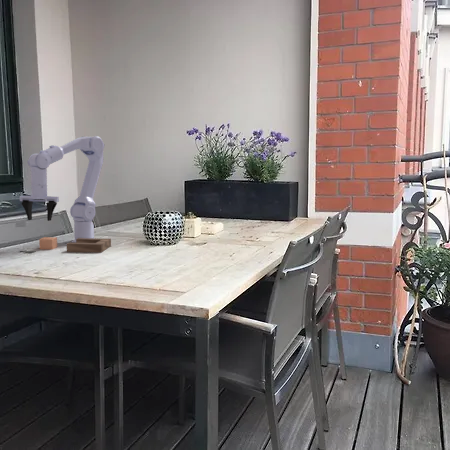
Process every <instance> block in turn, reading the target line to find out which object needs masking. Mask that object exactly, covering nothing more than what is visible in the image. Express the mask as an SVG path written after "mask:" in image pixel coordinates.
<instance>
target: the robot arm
mask: <svg viewBox="0 0 450 450" xmlns="http://www.w3.org/2000/svg"><path fill="white" fill-rule="evenodd" d="M104 149H105V143H104V141H103V139H102V137H100V136H98V135H93V136H85V135H84V136H81V137H77V138H75V139H73V140H71V141H69V142H67V143H64V144H63V145H61V146H59V145H55V144H54V145H49V147H48V148H46V149H44V150H43V149H41V150H39V152H38V153H32V154H31V155H30V156H29V158H28V160H27V161H26V162H27V165H28V166H29V168H30V190H31V193H30V194H31V195H20V196H19V202H21V203H20V204H21V206H22V207H23V209H24V212H25V214H26V217H27V221H31V220H33V213H32V212H33V203H34V202H43V203H45V204H46V205H45V206H46V211H47V213H46V215H47V217H46V219H47V221H48V222H49V221H52V217H53V214H54V211H55V208H56V206H57V204H58V202H60V197H59V196H48V176H47V175H48V170H47V169H48V168H49V166H50V165H51V164H53V163H56V162H59V161H61V160H62V159H64V155H66V154H68V153H72V152H74V151H76V150H80V151H81V152H82V153H83V154H84V155H85V157H87V159H88V165H87V169H86V172H85V176H84V179H83V182H82V187H81V191H80V194H79V196H78V197H77V198H76V199H74V203H73V205H72V206H71V207H70V211H69V214H70V216H71V218H73V219H72V220H73V226H74V227H73V229H74V230H73V231H74V233H73V234H74V239H73V240H71V242H70V243H76V239H78V238H95V226H94V225H95V224H94V223H93V221H94V218H95V216H96V206H97V205H96V202H95V200H94V197H95V193H96V189H97V186H98V182H99V177H100V174H101V170H102V167H103V163H104Z"/></svg>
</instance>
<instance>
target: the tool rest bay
mask: <svg viewBox="0 0 450 450" xmlns="http://www.w3.org/2000/svg"><path fill="white" fill-rule="evenodd" d="M110 247H112V239H111V238H96V237H94V238H78V239H76V242H67V243H66V253H99V254H100V253H103V252H104V251H106V250H107V249H109V248H110Z"/></svg>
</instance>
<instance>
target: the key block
mask: <svg viewBox="0 0 450 450" xmlns="http://www.w3.org/2000/svg"><path fill="white" fill-rule="evenodd" d="M38 242H39V250H55V249H57V248H58V237H54V236H53V237H51V236H49V237H48V236H46V237H45V236H44V237H41V238H39V241H38Z"/></svg>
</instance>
